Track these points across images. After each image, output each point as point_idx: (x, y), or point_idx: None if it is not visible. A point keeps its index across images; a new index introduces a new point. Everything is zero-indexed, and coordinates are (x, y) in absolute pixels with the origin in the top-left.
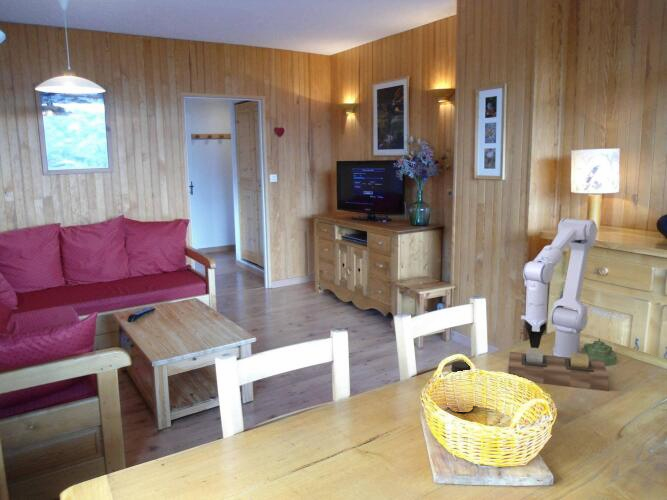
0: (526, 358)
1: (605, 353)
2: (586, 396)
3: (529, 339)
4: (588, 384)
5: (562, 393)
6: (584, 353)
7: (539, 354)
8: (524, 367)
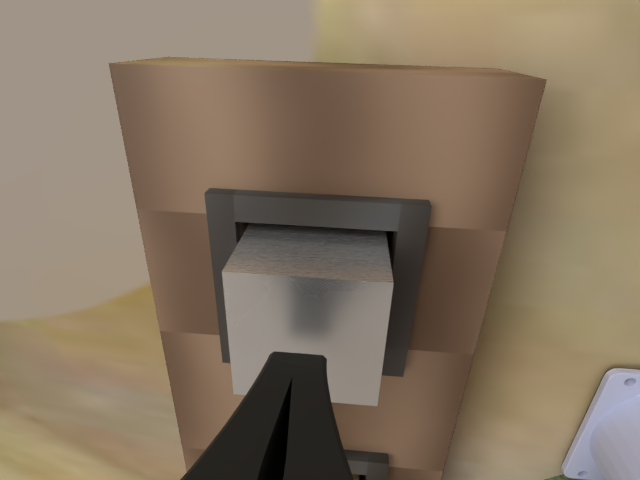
0: (236, 250)
1: None
2: (135, 420)
3: (225, 428)
4: None
5: (117, 345)
6: None
7: (248, 374)
8: (155, 209)
